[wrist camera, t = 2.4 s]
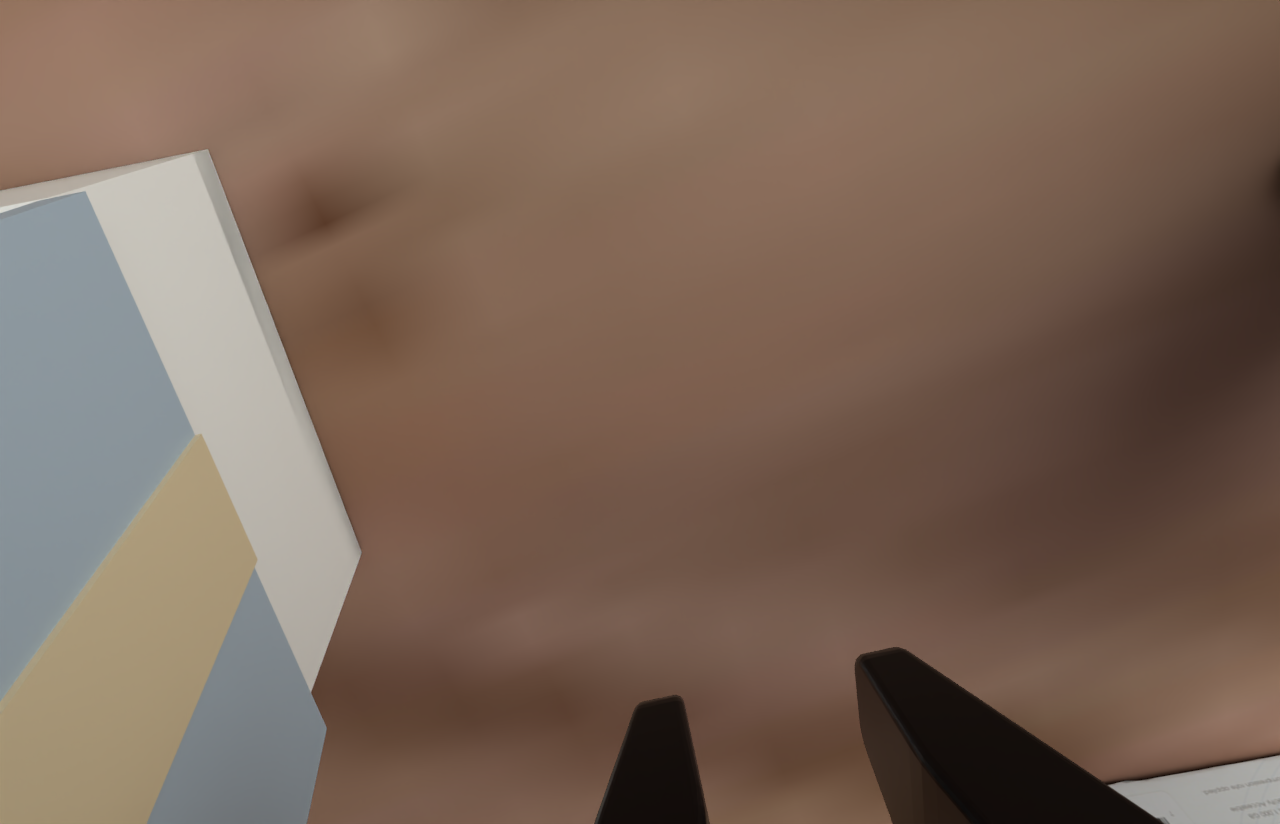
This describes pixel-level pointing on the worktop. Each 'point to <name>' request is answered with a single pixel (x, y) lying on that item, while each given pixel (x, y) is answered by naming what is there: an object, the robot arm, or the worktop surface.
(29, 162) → the worktop surface
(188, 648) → the lid
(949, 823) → the robot arm
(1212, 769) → the hard drive box
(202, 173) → the keepsake box
